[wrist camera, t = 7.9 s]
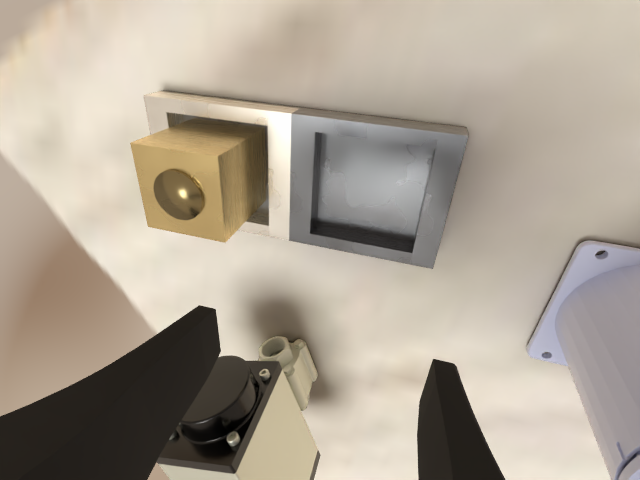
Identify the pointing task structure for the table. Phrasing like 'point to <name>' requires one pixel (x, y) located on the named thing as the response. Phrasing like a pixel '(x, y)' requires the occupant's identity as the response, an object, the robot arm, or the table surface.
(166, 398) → the robot arm
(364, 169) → the tray
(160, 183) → the brass cube with hole
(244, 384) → the pneumatic valve
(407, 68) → the table surface
